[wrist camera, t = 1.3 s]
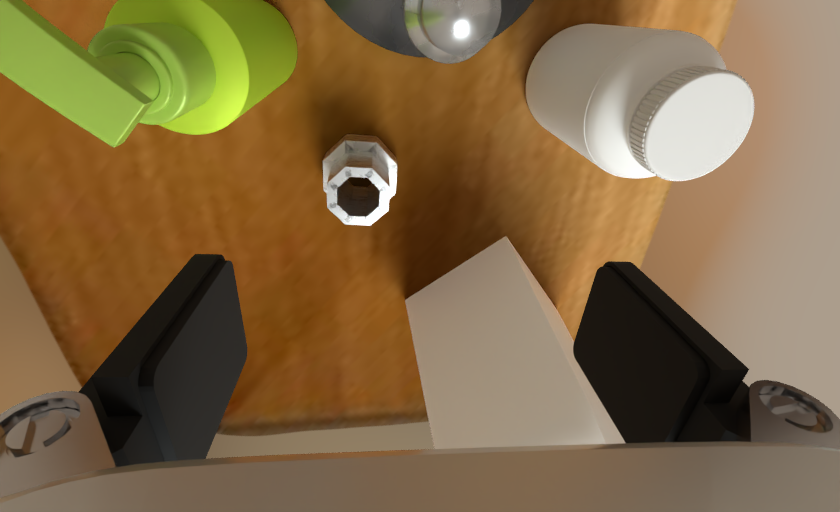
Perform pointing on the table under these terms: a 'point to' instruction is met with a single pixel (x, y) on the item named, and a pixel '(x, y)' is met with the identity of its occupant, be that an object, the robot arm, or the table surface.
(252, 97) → the soap dispenser
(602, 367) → the robot arm
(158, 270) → the table surface
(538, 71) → the pill bottle
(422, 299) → the milk
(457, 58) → the carrier
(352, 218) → the octagonal collar pipe
